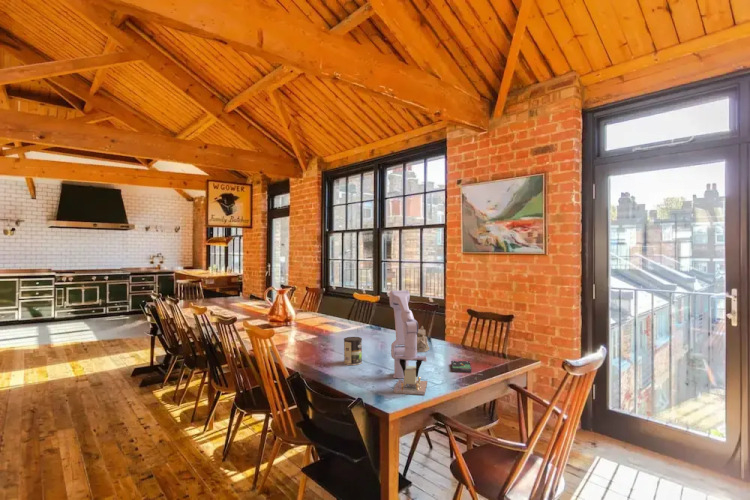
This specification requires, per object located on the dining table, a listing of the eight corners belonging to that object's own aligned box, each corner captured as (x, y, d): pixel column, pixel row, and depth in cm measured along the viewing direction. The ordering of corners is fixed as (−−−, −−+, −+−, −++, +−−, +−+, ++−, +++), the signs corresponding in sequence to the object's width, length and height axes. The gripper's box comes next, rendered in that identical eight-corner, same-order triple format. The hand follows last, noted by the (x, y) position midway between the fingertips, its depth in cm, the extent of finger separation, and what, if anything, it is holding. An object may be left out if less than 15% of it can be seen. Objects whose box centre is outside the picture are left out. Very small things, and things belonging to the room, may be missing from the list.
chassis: (398, 382, 204) (398, 374, 204) (427, 384, 201) (427, 375, 201) (393, 393, 190) (393, 384, 190) (424, 395, 187) (424, 386, 187)
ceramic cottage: (407, 345, 282) (407, 323, 281) (431, 347, 277) (432, 325, 275) (401, 352, 267) (401, 329, 266) (426, 355, 262) (427, 331, 261)
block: (406, 378, 200) (406, 365, 200) (417, 378, 199) (417, 366, 199) (404, 383, 192) (404, 370, 192) (415, 384, 191) (415, 371, 191)
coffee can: (363, 360, 244) (363, 336, 244) (359, 365, 234) (359, 340, 234) (346, 360, 246) (346, 336, 246) (341, 364, 236) (341, 340, 236)
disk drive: (450, 365, 236) (452, 372, 221) (450, 360, 236) (452, 367, 221) (469, 366, 234) (472, 373, 220) (469, 361, 234) (471, 368, 220)
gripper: (394, 348, 193) (394, 377, 193) (425, 349, 190) (425, 379, 190) (396, 344, 200) (396, 373, 200) (426, 346, 197) (427, 374, 197)
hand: (411, 375), depth 195 cm, fingers closed on block, 5 cm apart
